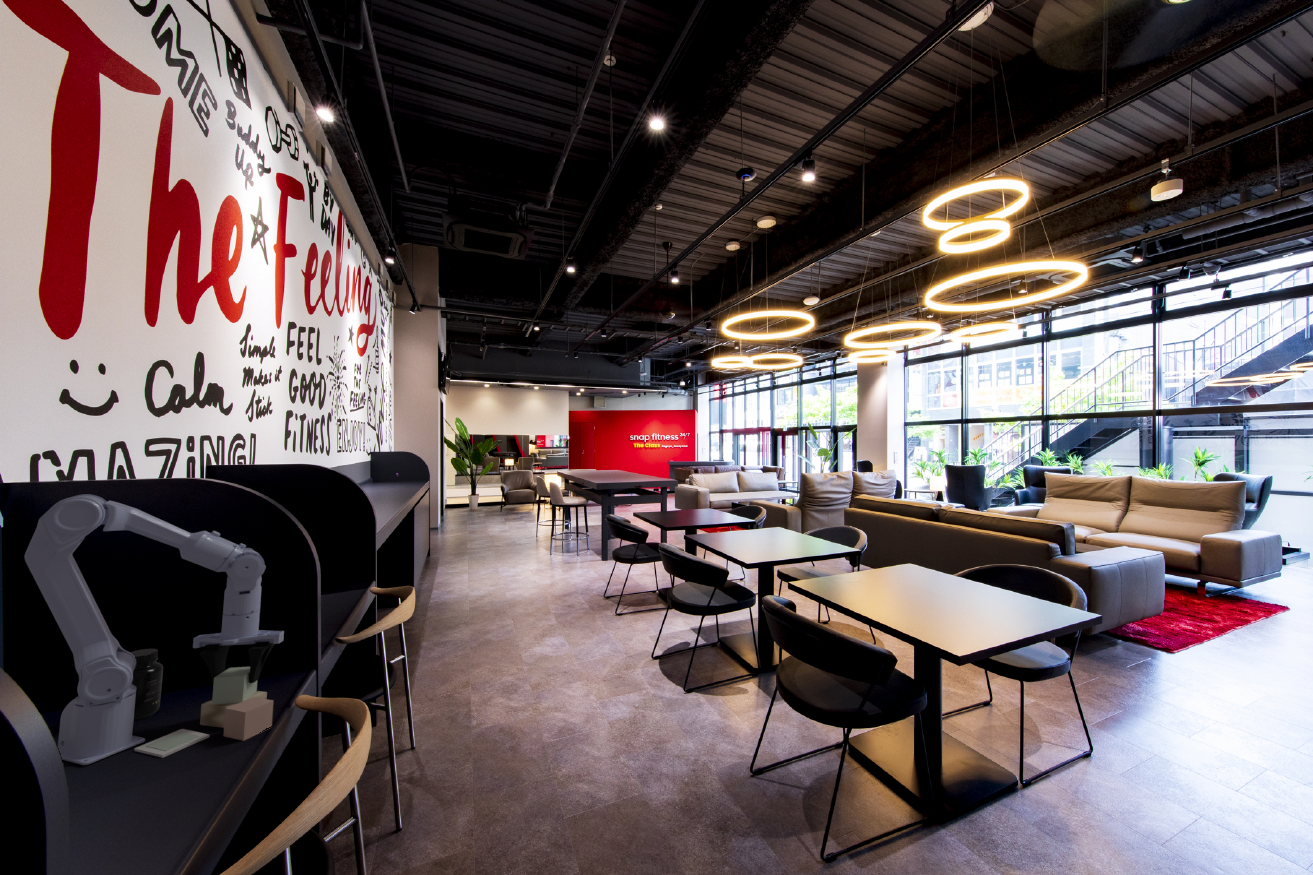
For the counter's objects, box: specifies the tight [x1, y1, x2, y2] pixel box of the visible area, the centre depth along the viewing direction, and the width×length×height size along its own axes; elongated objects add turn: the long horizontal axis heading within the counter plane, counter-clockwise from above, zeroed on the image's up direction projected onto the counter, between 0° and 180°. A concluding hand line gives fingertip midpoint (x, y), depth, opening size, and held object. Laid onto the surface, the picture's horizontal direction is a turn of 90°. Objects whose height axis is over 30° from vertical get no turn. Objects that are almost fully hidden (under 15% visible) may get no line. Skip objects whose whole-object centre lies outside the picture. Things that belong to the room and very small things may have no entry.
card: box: [134, 728, 210, 759], centre depth 89 cm, size 7×7×1 cm
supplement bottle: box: [129, 648, 164, 722], centre depth 99 cm, size 7×7×12 cm
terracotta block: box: [223, 697, 275, 742], centre depth 94 cm, size 5×5×5 cm
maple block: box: [199, 690, 268, 729], centre depth 99 cm, size 7×7×4 cm
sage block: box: [211, 666, 258, 705], centre depth 99 cm, size 5×5×5 cm
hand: (236, 682), depth 99 cm, fingers open, 5 cm apart
